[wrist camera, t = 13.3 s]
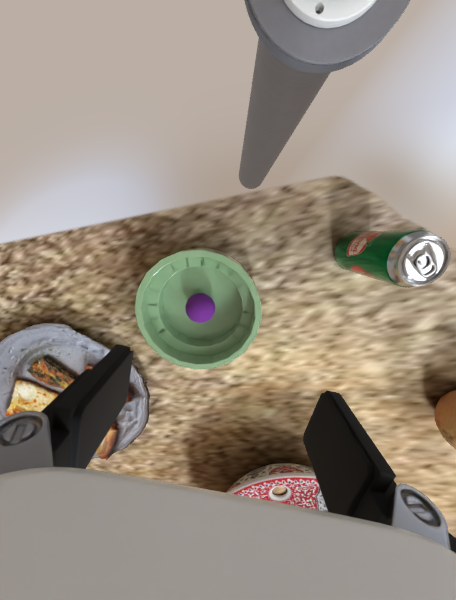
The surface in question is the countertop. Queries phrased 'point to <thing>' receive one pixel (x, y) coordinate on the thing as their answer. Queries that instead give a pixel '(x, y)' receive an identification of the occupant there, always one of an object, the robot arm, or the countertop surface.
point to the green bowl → (172, 315)
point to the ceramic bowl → (288, 475)
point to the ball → (200, 307)
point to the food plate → (63, 378)
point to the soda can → (394, 256)
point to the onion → (447, 417)
